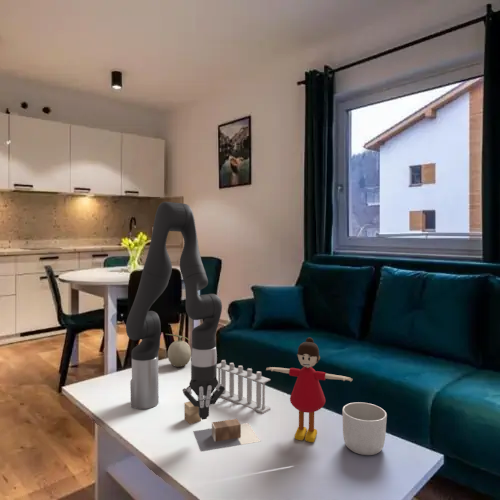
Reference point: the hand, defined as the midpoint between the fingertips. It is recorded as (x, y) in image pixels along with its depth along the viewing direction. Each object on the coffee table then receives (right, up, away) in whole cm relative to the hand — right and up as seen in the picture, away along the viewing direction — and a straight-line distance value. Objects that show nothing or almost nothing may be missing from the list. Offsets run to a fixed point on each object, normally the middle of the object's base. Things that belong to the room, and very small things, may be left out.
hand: (203, 418), depth 126 cm
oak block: (-5, -6, +12) cm, 15 cm away
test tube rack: (+10, -5, +28) cm, 30 cm away
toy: (+32, -7, +4) cm, 33 cm away
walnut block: (+3, -4, +1) cm, 5 cm away
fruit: (-18, -3, +66) cm, 68 cm away
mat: (+7, -7, +2) cm, 10 cm away
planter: (+47, -8, -3) cm, 48 cm away
